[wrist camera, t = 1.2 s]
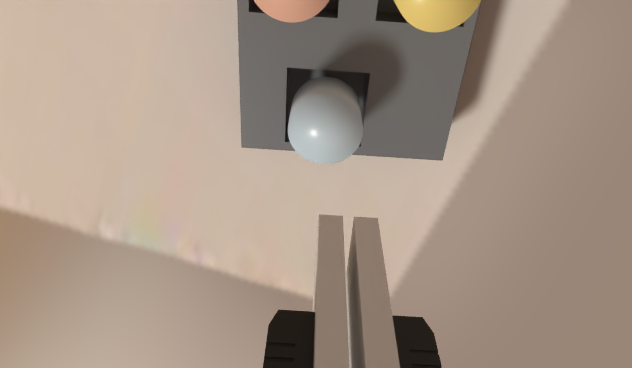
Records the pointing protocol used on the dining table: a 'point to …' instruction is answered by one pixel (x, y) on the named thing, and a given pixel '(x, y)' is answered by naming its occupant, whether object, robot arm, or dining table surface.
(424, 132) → the button panel
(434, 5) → the button mustard
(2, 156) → the dining table surface
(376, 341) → the robot arm
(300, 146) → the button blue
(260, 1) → the salmon pink rounded dome
